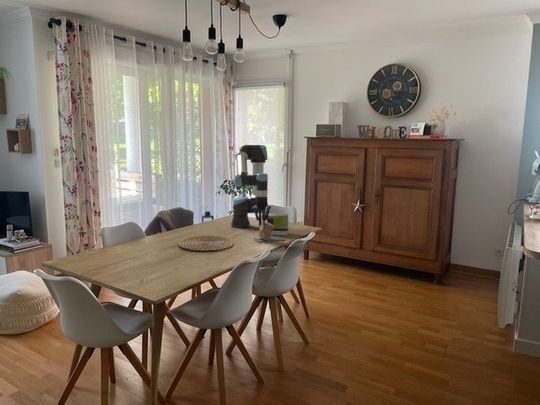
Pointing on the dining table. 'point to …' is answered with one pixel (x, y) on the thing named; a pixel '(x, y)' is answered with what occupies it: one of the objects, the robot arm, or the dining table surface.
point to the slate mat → (269, 239)
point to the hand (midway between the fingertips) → (261, 230)
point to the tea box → (278, 223)
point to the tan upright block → (266, 231)
